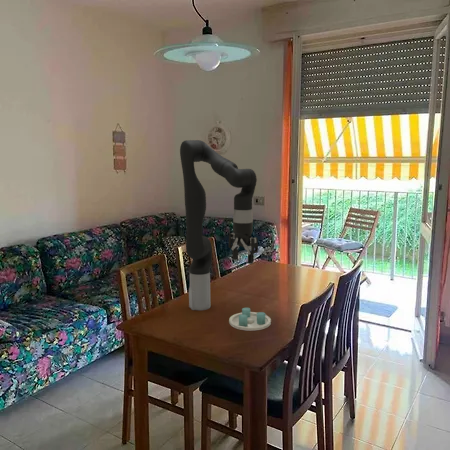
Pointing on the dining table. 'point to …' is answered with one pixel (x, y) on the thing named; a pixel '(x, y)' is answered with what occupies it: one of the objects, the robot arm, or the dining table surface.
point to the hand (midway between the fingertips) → (242, 261)
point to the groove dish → (249, 322)
